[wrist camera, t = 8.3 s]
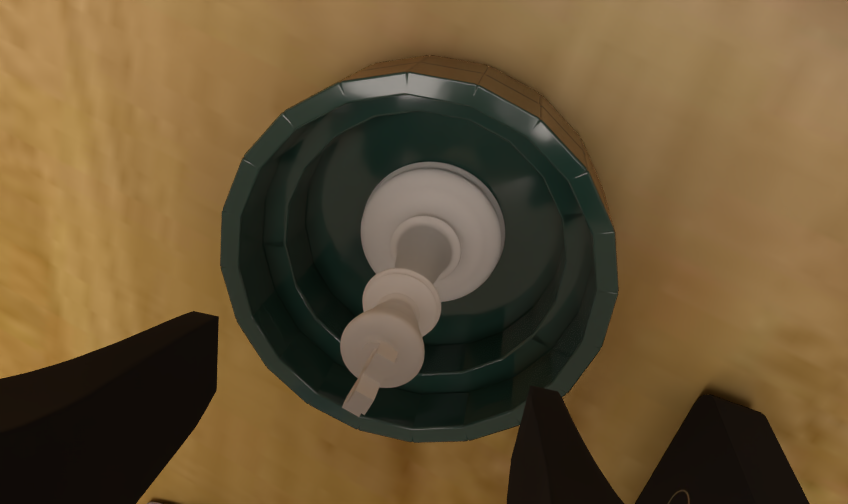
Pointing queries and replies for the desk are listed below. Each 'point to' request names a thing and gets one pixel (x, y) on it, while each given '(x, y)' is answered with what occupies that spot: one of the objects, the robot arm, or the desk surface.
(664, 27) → the desk surface
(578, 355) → the bowl
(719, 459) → the nameplate
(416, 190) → the chess piece
